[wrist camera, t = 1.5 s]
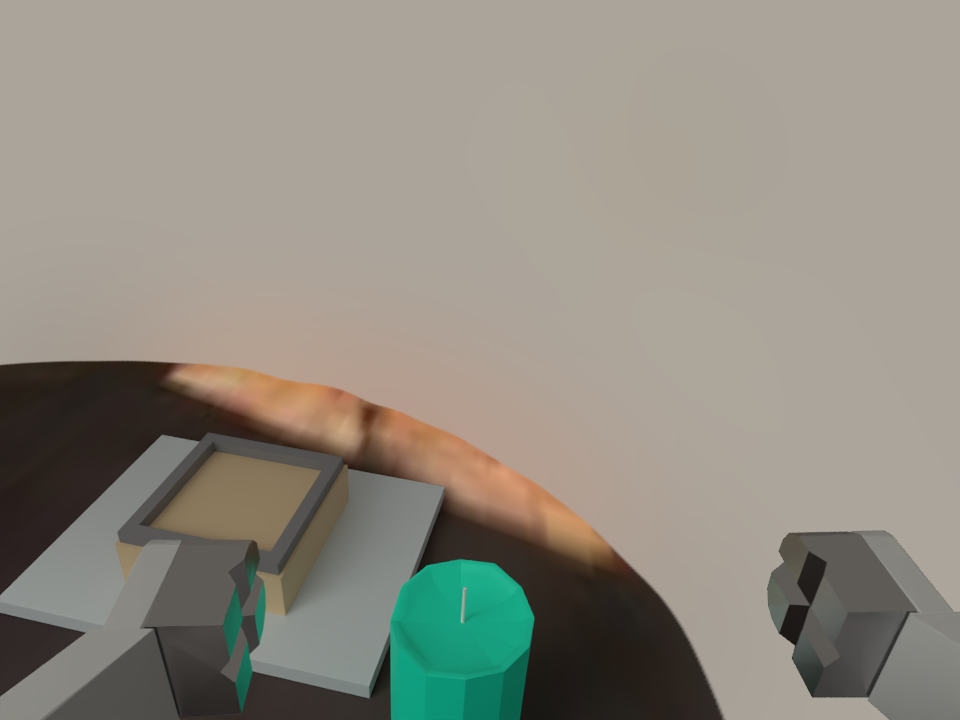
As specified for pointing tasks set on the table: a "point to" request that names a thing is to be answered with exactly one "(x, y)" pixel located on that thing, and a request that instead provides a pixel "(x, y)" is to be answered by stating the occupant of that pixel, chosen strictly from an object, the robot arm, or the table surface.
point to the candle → (459, 644)
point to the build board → (281, 543)
